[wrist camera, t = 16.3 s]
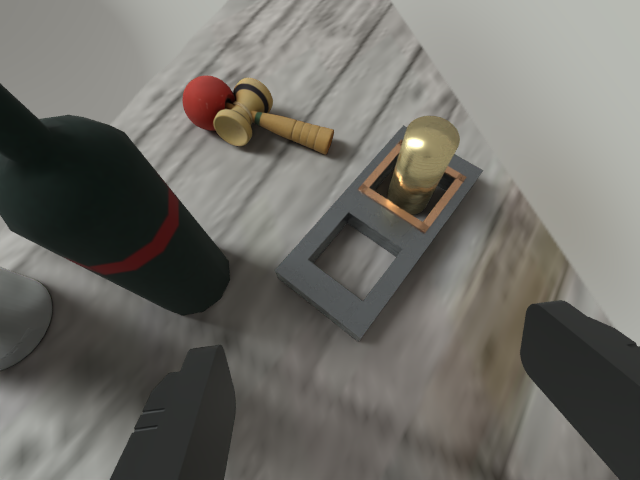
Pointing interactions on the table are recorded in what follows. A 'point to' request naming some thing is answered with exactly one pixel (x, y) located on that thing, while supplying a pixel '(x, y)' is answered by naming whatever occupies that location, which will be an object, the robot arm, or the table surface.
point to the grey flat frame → (380, 226)
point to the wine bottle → (104, 208)
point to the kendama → (246, 113)
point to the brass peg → (422, 162)
